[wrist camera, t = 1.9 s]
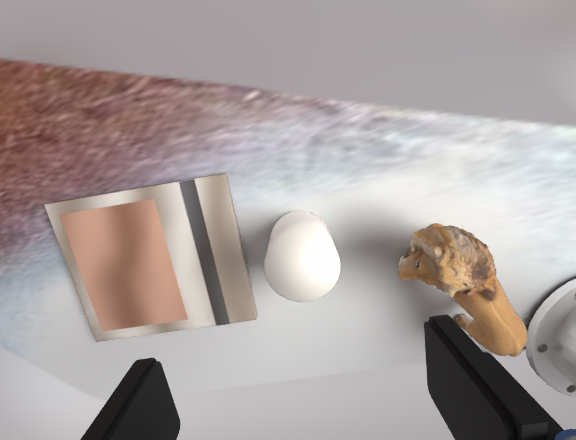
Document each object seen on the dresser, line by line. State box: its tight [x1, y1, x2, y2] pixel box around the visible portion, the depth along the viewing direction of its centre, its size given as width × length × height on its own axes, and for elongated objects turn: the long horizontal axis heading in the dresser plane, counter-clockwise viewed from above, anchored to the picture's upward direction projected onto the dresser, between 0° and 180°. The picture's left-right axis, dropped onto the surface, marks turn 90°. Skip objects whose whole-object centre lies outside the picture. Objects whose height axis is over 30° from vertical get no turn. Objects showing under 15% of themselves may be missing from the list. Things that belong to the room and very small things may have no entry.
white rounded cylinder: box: [264, 210, 340, 302], centre depth 22 cm, size 5×5×6 cm
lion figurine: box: [399, 224, 528, 356], centre depth 21 cm, size 15×5×9 cm, turn 47°
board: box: [44, 173, 257, 342], centre depth 25 cm, size 15×13×1 cm
